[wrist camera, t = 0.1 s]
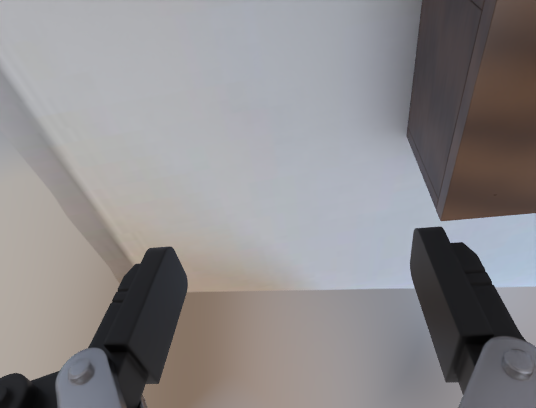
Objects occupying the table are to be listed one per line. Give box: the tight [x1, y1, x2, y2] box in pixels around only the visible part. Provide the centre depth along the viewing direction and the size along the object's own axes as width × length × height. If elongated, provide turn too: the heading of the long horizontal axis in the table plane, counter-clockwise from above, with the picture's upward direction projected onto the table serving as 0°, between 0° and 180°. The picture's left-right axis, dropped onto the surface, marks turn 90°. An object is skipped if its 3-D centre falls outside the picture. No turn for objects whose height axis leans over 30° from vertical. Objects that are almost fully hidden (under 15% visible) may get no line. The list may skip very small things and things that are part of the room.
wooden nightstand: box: [407, 0, 536, 221], centre depth 24 cm, size 16×10×11 cm, turn 11°
